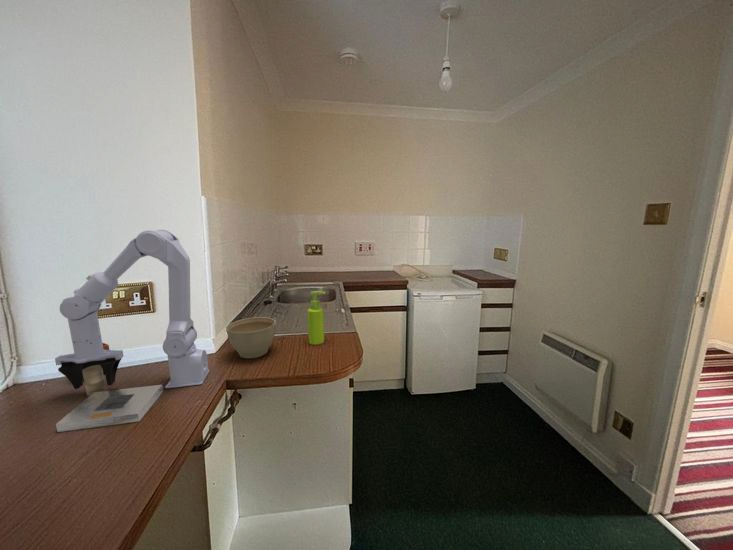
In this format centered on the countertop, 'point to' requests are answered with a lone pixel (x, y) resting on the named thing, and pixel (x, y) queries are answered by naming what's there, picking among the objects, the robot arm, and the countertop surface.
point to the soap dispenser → (316, 320)
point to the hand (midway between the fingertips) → (95, 385)
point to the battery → (92, 363)
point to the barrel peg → (94, 379)
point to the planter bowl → (251, 336)
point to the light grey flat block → (111, 408)
